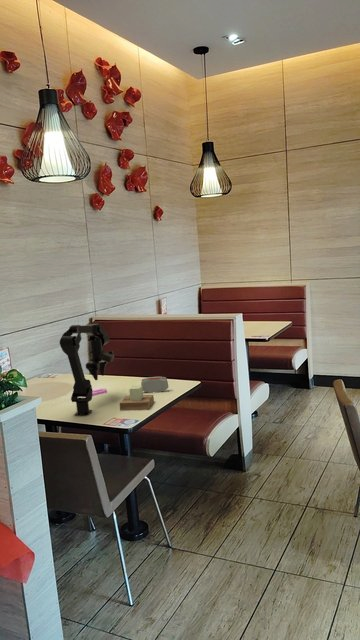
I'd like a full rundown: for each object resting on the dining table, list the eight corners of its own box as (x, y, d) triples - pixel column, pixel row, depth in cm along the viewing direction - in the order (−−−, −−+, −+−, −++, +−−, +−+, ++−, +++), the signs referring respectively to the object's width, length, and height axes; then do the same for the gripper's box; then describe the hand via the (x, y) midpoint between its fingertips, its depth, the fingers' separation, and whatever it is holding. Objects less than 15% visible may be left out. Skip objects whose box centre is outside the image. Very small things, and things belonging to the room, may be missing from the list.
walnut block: (148, 410, 244) (147, 402, 243) (120, 411, 246) (119, 403, 246) (154, 402, 256) (153, 394, 255) (126, 403, 258) (126, 395, 257)
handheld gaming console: (168, 390, 273) (167, 375, 272) (168, 391, 270) (167, 377, 269) (141, 392, 274) (140, 377, 273) (141, 393, 271) (139, 379, 270)
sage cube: (140, 400, 247) (139, 388, 246) (130, 400, 248) (129, 388, 248) (143, 397, 252) (142, 385, 251) (133, 397, 253) (132, 385, 252)
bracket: (85, 397, 273) (84, 385, 272) (82, 395, 277) (80, 383, 276) (108, 392, 279) (107, 380, 278) (104, 390, 284) (103, 378, 283)
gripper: (104, 351, 250) (108, 382, 253) (117, 343, 268) (120, 372, 271) (83, 352, 253) (87, 383, 255) (97, 344, 271) (100, 373, 273)
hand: (99, 377), depth 263 cm, fingers open, 9 cm apart
